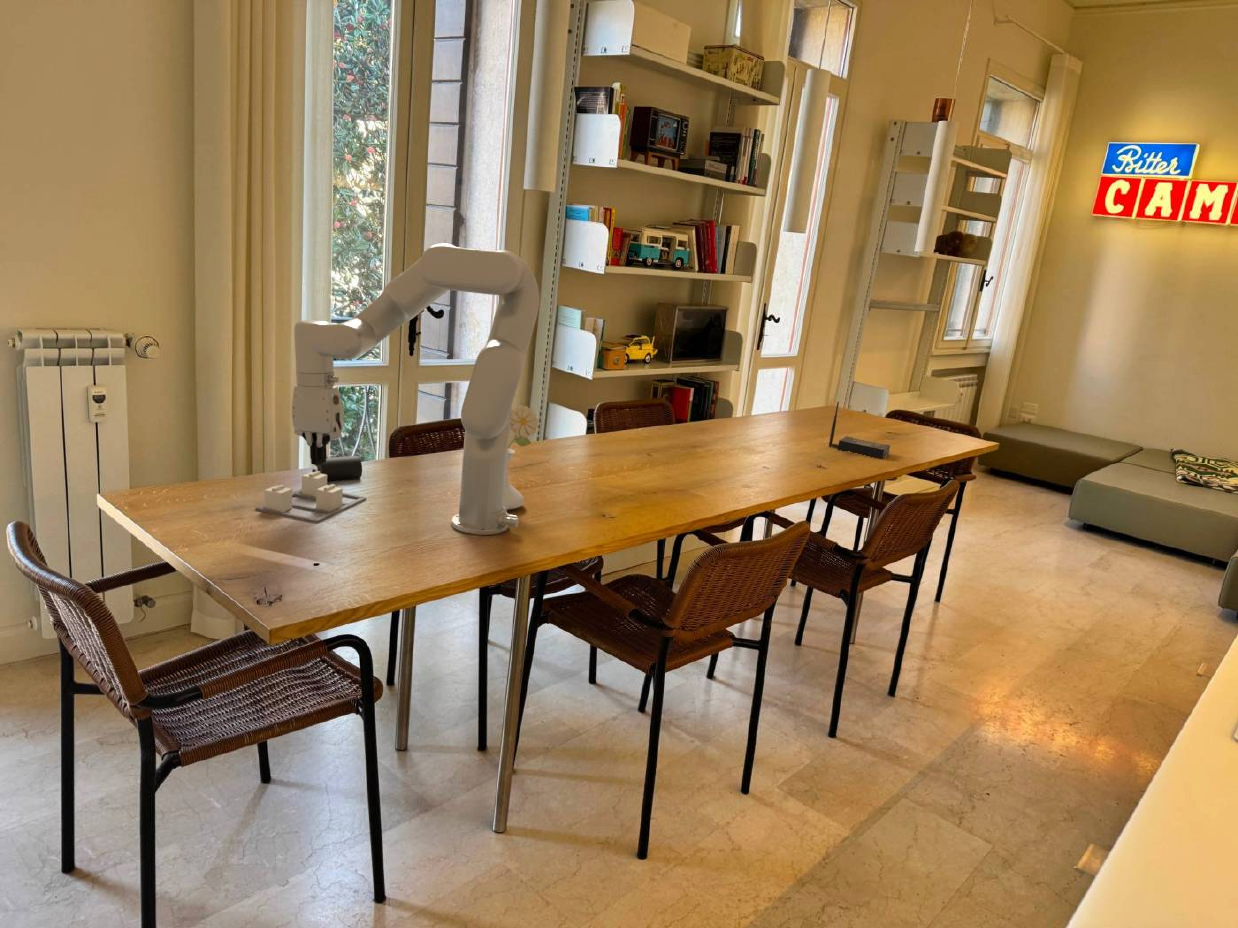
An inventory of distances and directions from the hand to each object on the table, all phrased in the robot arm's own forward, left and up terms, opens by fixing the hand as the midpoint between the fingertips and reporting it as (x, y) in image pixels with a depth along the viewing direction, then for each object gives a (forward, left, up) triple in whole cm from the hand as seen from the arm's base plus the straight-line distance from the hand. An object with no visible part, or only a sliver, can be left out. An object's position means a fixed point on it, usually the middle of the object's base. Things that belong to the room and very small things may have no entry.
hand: (318, 463), depth 189 cm
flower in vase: (-33, -27, -11) cm, 44 cm away
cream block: (+5, +7, -10) cm, 13 cm away
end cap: (+8, -20, -11) cm, 24 cm away
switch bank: (+3, 0, -11) cm, 11 cm away
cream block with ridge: (-3, 0, -10) cm, 10 cm away
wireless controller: (-116, -159, -11) cm, 197 cm away
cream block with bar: (+5, -6, -10) cm, 12 cm away
